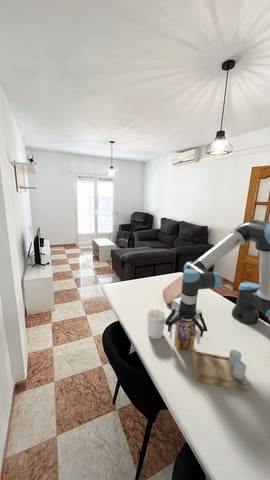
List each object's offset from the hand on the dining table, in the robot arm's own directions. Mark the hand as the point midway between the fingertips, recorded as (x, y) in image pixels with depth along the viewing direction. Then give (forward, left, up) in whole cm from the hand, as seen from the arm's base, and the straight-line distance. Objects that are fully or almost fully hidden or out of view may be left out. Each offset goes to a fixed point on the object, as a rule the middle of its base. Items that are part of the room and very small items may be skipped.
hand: (184, 339), depth 98 cm
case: (+2, -47, -5) cm, 47 cm away
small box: (+2, -23, -5) cm, 24 cm away
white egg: (-21, +9, -2) cm, 23 cm away
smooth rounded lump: (-21, +15, -2) cm, 26 cm away
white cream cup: (+15, -6, -5) cm, 17 cm away
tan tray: (-14, +12, -4) cm, 19 cm away
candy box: (0, 0, -5) cm, 5 cm away
